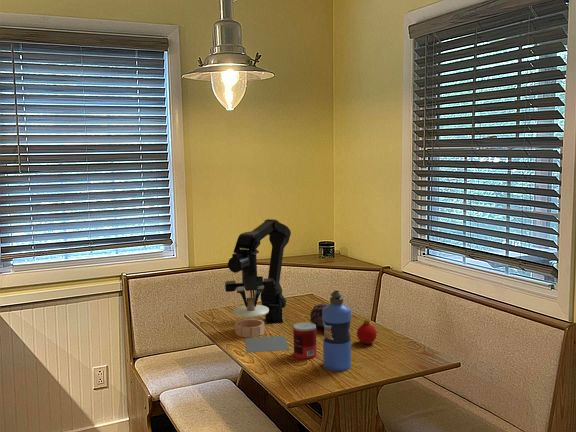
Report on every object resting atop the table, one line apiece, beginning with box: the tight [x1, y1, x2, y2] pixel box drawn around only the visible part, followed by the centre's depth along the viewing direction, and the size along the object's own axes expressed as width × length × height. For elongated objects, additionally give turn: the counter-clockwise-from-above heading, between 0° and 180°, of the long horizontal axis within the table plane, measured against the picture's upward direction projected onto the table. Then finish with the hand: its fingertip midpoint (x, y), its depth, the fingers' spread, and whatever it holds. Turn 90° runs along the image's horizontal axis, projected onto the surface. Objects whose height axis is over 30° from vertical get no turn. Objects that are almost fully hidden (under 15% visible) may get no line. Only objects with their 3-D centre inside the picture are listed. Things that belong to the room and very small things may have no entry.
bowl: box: [234, 318, 266, 338], centre depth 227 cm, size 11×12×4 cm
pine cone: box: [309, 303, 330, 329], centre depth 230 cm, size 18×10×10 cm, turn 18°
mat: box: [244, 335, 291, 354], centre depth 214 cm, size 15×15×1 cm
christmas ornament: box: [356, 316, 378, 345], centre depth 213 cm, size 7×7×10 cm
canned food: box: [292, 321, 317, 361], centre depth 201 cm, size 8×8×11 cm
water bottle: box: [322, 290, 352, 372], centre depth 192 cm, size 9×9×25 cm
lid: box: [232, 296, 269, 319], centre depth 225 cm, size 14×14×5 cm
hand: (250, 306), depth 225 cm, fingers closed on lid, 3 cm apart
